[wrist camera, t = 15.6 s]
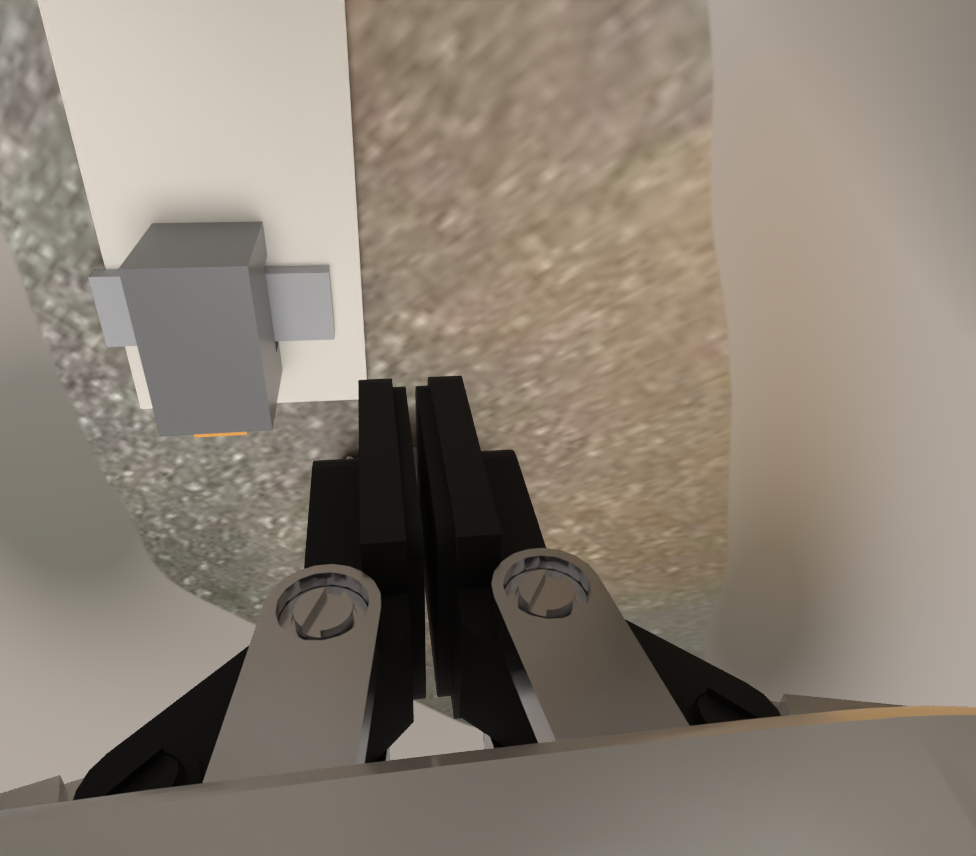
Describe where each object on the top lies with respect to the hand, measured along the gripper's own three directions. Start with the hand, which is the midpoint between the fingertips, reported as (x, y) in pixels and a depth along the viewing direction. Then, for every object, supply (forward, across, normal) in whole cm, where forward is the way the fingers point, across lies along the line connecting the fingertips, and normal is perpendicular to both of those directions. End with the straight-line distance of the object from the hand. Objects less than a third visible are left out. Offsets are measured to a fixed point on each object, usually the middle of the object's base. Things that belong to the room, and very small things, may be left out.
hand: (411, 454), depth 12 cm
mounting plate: (+27, +7, +3) cm, 28 cm away
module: (+26, +8, +8) cm, 28 cm away
